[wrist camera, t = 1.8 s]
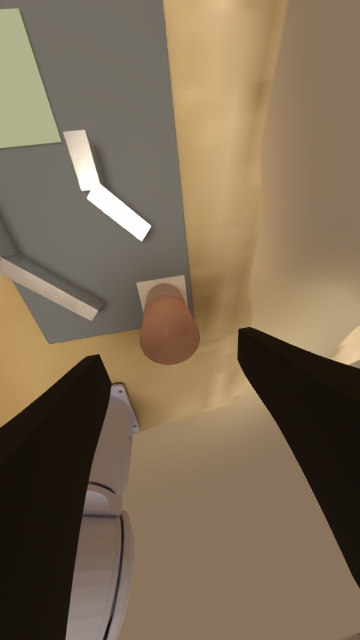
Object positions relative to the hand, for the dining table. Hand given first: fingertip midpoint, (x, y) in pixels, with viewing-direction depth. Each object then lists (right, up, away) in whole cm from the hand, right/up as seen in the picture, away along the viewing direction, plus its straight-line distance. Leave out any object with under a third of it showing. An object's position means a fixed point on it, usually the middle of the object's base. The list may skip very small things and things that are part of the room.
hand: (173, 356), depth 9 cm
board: (-7, +10, +4) cm, 13 cm away
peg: (-1, +4, +8) cm, 9 cm away
